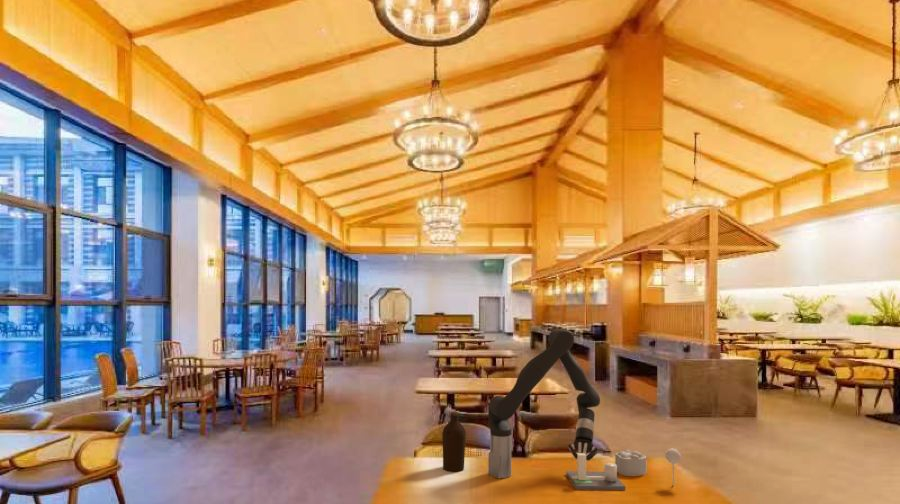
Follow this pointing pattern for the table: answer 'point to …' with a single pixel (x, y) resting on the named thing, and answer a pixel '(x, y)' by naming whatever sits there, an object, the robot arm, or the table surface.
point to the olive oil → (453, 444)
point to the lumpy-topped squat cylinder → (631, 463)
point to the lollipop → (673, 457)
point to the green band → (583, 481)
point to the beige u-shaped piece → (609, 475)
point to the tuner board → (595, 482)
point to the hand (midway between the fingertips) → (581, 467)
